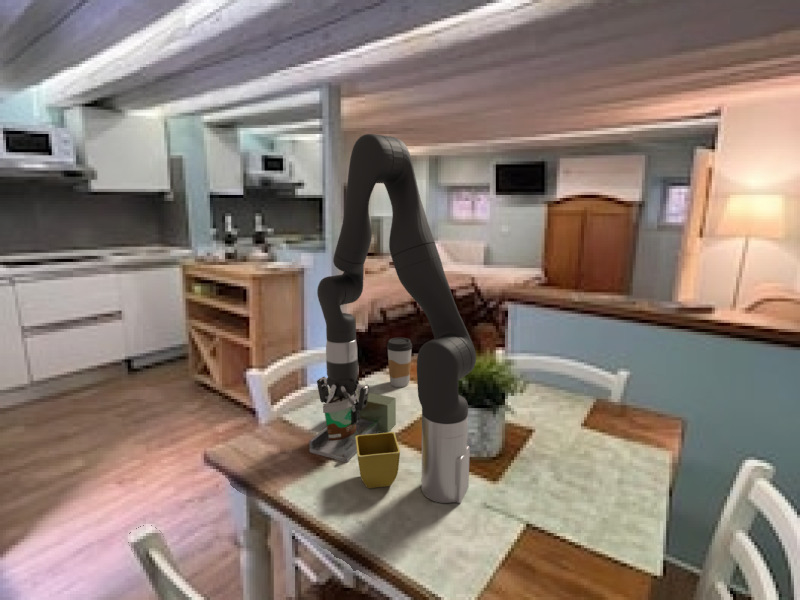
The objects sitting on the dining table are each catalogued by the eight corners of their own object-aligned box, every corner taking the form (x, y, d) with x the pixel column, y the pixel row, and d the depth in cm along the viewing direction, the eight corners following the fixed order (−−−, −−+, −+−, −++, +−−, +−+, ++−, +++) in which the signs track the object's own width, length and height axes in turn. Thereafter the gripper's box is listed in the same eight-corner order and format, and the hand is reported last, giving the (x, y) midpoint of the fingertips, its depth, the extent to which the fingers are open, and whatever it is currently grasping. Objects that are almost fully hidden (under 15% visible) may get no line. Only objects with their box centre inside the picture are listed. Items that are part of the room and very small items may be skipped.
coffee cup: (417, 383, 149) (417, 340, 146) (400, 390, 143) (400, 346, 140) (399, 377, 155) (399, 335, 152) (382, 384, 149) (381, 341, 146)
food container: (351, 445, 105) (346, 405, 103) (326, 443, 106) (322, 404, 104) (367, 420, 116) (363, 384, 114) (345, 420, 118) (341, 384, 116)
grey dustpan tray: (395, 425, 121) (395, 397, 119) (357, 465, 102) (356, 433, 101) (345, 414, 127) (344, 388, 126) (300, 449, 109) (298, 419, 107)
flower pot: (358, 495, 91) (357, 456, 90) (356, 471, 100) (354, 434, 98) (400, 491, 93) (400, 452, 91) (394, 467, 101) (394, 431, 99)
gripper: (375, 356, 108) (376, 420, 111) (325, 348, 114) (327, 409, 117) (360, 366, 101) (361, 433, 105) (308, 357, 107) (311, 421, 111)
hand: (343, 420), depth 111 cm, fingers closed on food container, 5 cm apart
